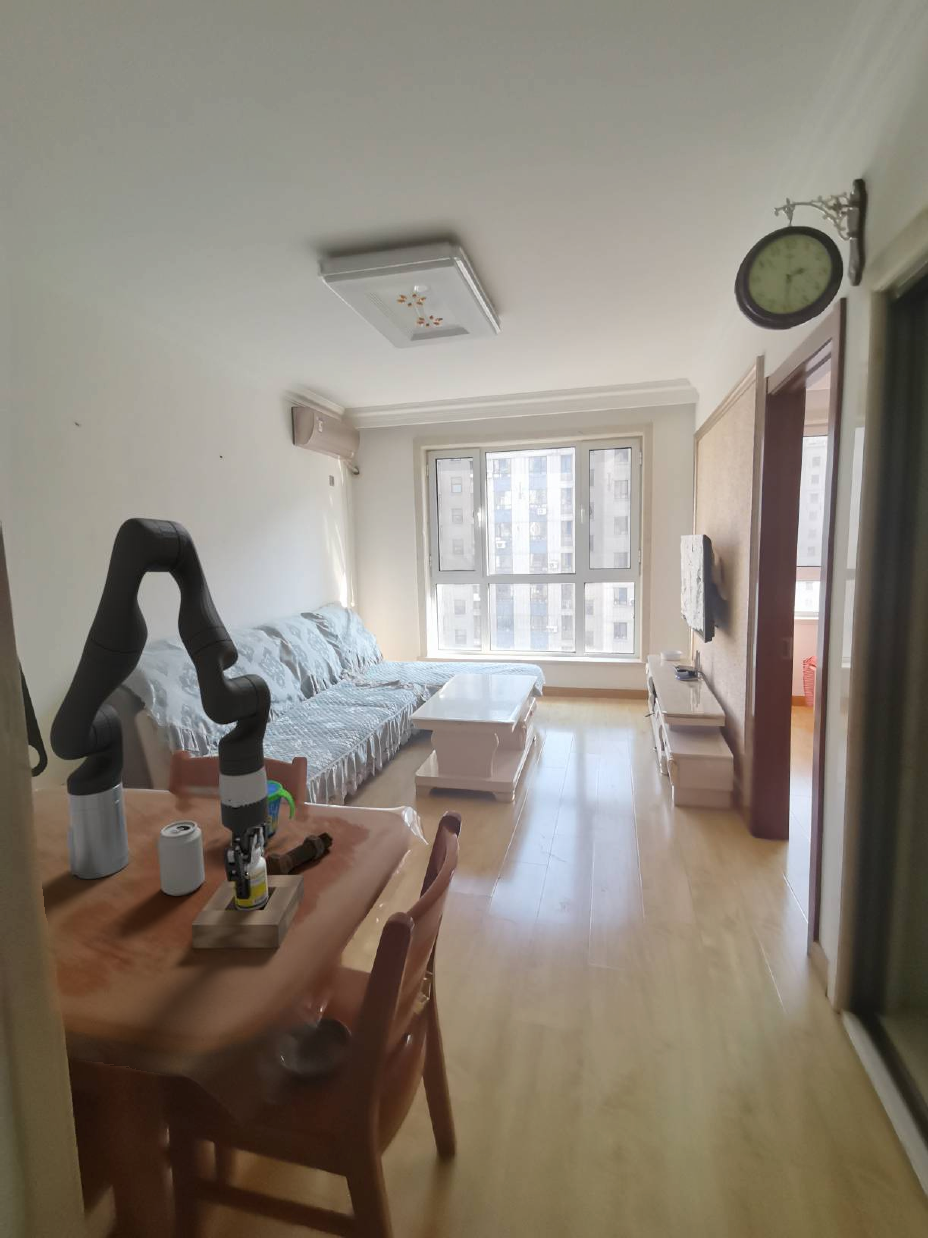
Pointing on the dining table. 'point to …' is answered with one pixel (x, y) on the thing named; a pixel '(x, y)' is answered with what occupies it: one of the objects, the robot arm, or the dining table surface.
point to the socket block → (249, 916)
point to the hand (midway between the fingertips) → (250, 887)
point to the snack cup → (276, 804)
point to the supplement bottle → (255, 884)
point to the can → (181, 858)
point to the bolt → (298, 854)
